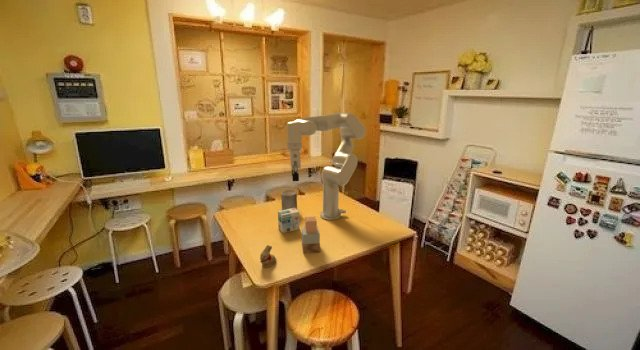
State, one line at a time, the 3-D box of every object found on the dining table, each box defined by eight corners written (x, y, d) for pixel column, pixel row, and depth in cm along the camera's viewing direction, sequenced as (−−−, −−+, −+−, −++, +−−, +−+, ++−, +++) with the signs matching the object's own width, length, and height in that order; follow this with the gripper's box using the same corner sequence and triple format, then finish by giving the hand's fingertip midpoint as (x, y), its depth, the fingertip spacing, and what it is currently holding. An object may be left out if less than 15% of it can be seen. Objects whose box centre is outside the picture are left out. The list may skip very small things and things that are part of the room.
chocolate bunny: (258, 262, 129) (257, 243, 126) (275, 258, 132) (274, 239, 129) (261, 269, 124) (260, 249, 121) (279, 265, 127) (278, 245, 125)
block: (315, 227, 141) (315, 216, 139) (316, 232, 136) (316, 220, 135) (305, 228, 140) (305, 217, 139) (306, 233, 136) (306, 221, 134)
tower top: (317, 235, 144) (317, 226, 143) (319, 243, 136) (319, 233, 135) (301, 236, 143) (301, 227, 142) (302, 244, 135) (302, 234, 134)
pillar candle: (290, 208, 189) (289, 186, 184) (300, 212, 182) (299, 190, 178) (278, 212, 182) (277, 190, 178) (288, 217, 176) (287, 194, 171)
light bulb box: (282, 233, 156) (281, 215, 153) (278, 228, 161) (277, 210, 158) (300, 229, 160) (299, 211, 157) (295, 224, 166) (295, 207, 163)
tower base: (317, 244, 145) (317, 235, 144) (319, 252, 138) (319, 243, 136) (301, 245, 144) (301, 236, 143) (303, 253, 137) (303, 244, 135)
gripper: (303, 149, 138) (303, 183, 143) (300, 143, 155) (301, 173, 160) (287, 149, 137) (288, 183, 142) (286, 143, 154) (287, 173, 159)
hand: (295, 178), depth 151 cm, fingers open, 9 cm apart
